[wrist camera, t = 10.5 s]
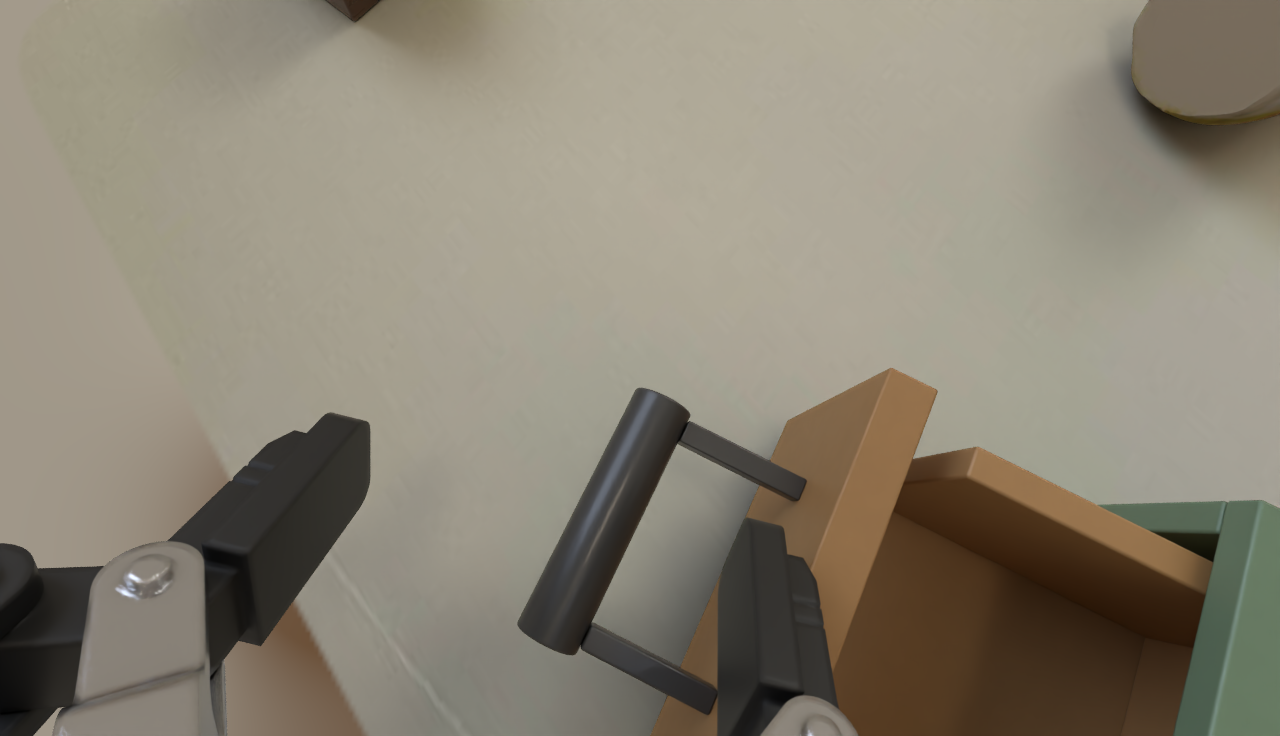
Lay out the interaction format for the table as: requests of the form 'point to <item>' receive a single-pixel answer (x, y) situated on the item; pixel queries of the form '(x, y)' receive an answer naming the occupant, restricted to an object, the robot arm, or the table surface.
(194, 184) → the table surface
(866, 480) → the drawer
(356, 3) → the block
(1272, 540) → the cabinet
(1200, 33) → the mug
